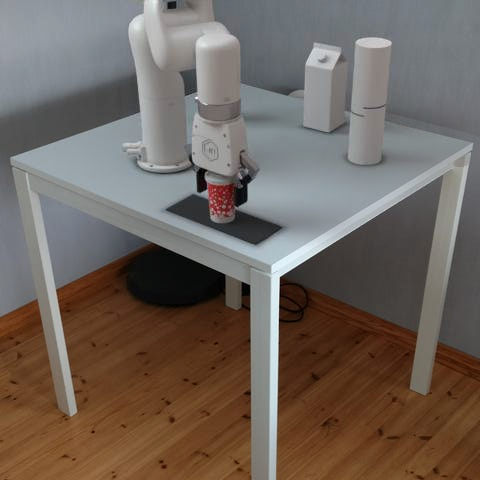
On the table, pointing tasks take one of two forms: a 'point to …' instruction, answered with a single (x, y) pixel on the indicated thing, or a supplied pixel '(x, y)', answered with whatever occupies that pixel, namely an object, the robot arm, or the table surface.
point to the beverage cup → (220, 197)
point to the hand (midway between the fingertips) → (222, 196)
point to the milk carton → (325, 88)
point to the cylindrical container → (369, 100)
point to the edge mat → (240, 227)
